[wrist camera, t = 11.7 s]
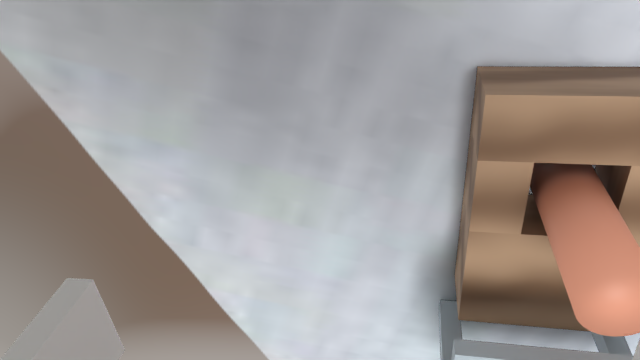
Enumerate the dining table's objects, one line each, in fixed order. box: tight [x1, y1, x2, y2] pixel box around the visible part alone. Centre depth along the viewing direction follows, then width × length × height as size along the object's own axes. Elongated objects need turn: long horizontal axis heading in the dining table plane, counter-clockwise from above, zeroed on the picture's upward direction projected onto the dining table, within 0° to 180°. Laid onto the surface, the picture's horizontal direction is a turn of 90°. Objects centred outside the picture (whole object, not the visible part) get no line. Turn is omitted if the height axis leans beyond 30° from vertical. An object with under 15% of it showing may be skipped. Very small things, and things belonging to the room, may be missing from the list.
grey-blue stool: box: [439, 300, 633, 360], centre depth 36 cm, size 9×14×12 cm, turn 93°
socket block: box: [455, 67, 640, 331], centre depth 35 cm, size 18×12×5 cm, turn 3°
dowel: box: [530, 163, 640, 337], centre depth 30 cm, size 4×4×14 cm
